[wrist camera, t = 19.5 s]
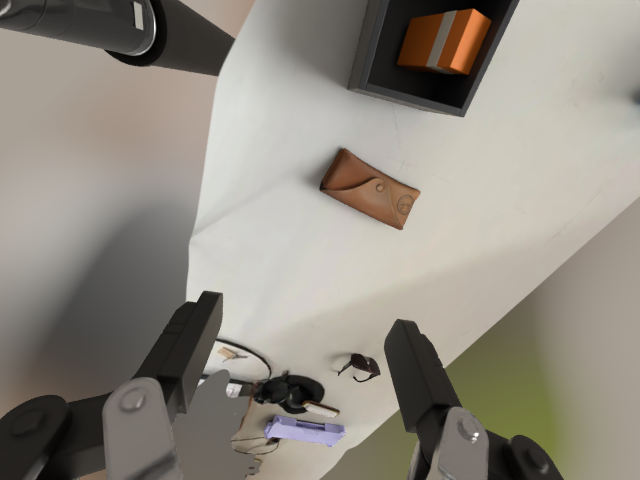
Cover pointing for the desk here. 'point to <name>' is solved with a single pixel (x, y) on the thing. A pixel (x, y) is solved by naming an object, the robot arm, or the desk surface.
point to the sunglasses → (363, 366)
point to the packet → (444, 42)
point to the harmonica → (320, 408)
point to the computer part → (304, 431)
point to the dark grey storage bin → (421, 87)
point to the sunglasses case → (368, 190)
